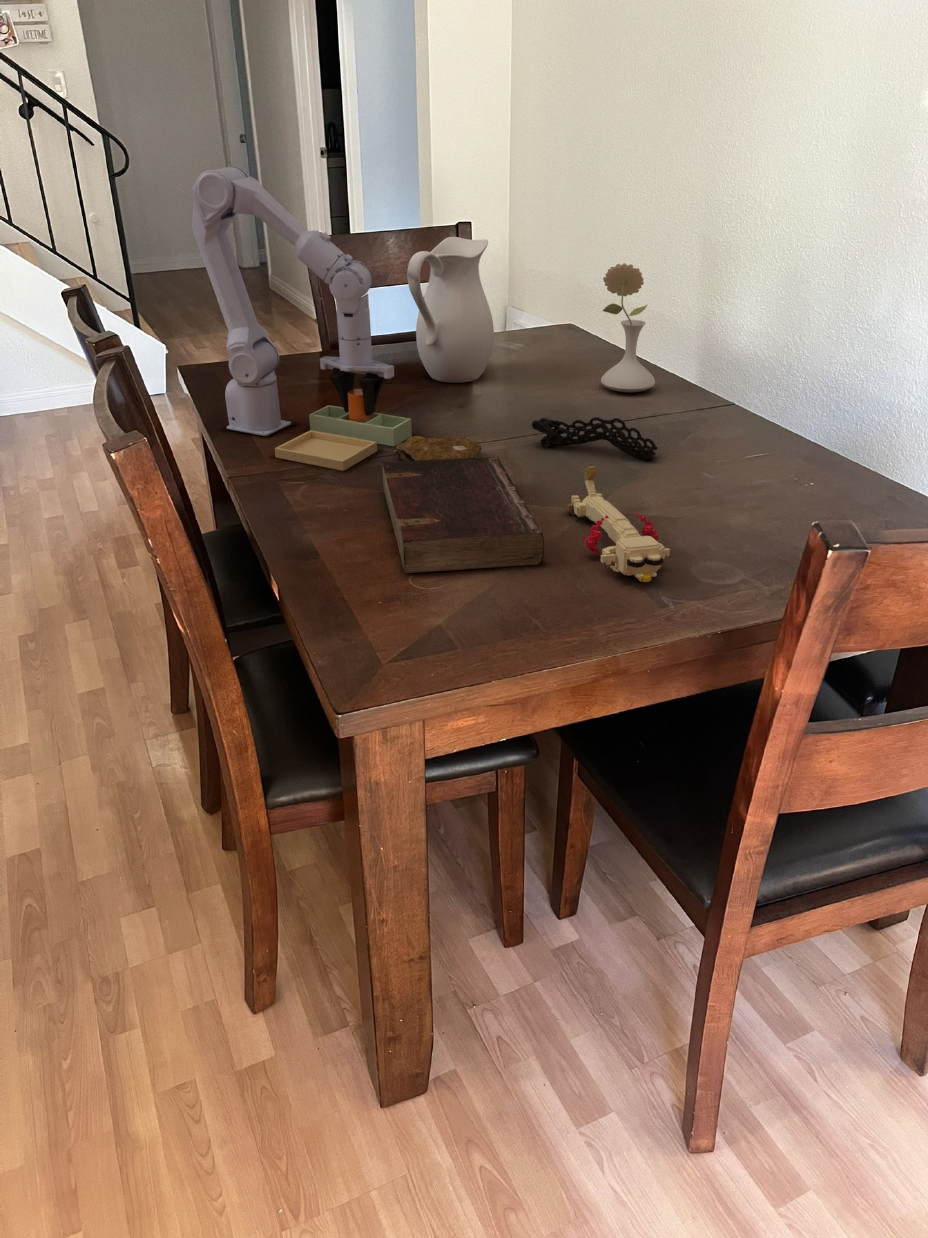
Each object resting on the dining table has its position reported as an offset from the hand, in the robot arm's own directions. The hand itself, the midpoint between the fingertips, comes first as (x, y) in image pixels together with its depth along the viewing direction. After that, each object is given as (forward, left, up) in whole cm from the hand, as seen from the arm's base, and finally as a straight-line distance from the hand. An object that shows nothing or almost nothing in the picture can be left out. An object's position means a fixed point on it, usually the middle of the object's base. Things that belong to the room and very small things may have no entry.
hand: (359, 412), depth 165 cm
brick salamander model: (+58, -24, -4) cm, 63 cm away
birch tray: (+1, -12, -4) cm, 13 cm away
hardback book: (+35, -28, -4) cm, 45 cm away
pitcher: (-2, +39, -4) cm, 39 cm away
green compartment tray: (0, 0, -4) cm, 4 cm away
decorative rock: (+20, -7, -4) cm, 21 cm away
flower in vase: (+35, +50, -4) cm, 60 cm away
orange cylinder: (0, 0, -1) cm, 1 cm away
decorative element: (+42, +11, -4) cm, 43 cm away
